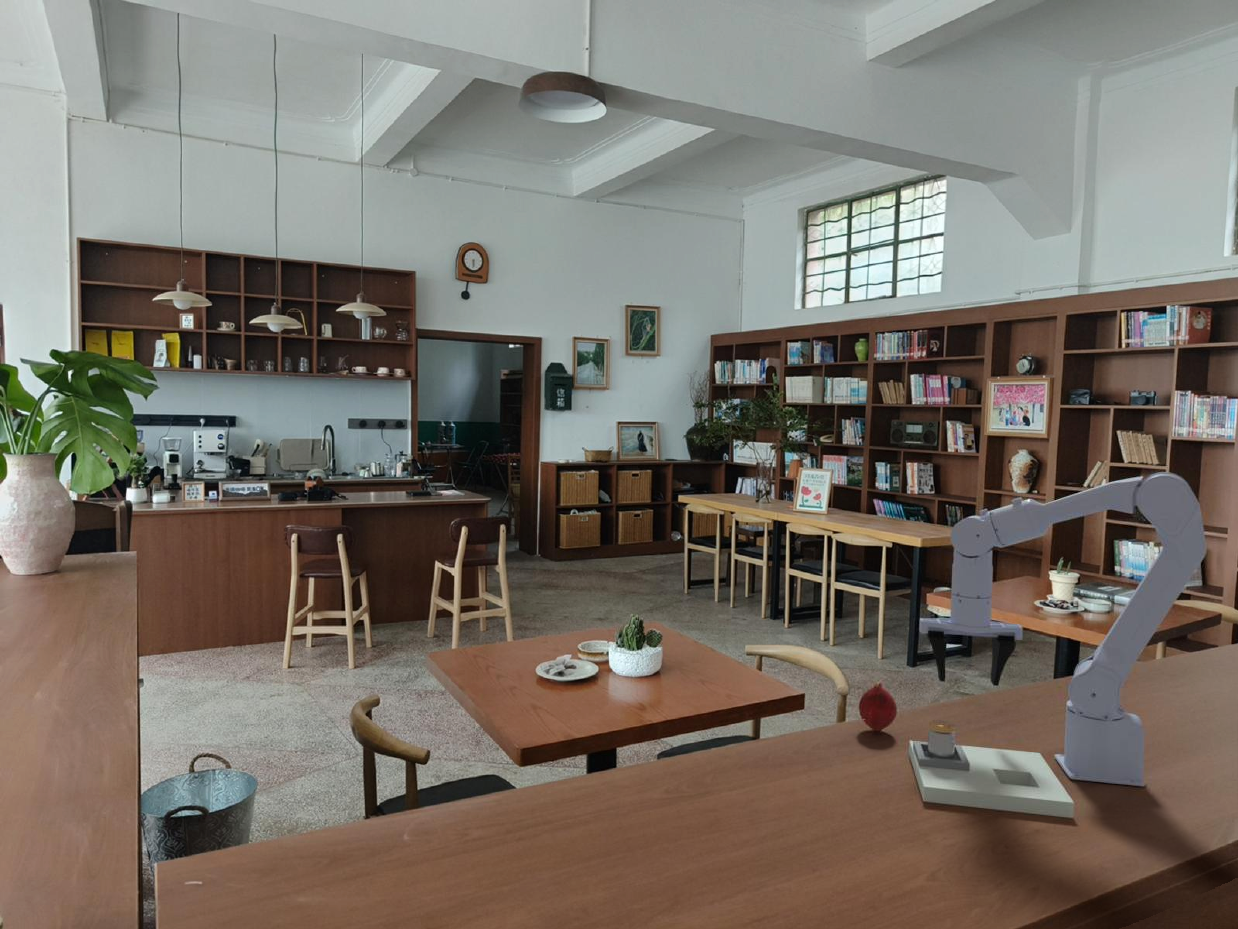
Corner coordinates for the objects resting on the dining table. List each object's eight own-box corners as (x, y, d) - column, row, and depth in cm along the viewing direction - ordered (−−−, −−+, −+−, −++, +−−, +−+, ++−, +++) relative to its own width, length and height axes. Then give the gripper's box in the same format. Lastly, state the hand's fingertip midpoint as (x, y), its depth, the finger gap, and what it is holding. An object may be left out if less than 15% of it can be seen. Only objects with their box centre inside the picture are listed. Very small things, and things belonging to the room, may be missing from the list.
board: (1039, 766, 120) (1039, 746, 120) (1073, 818, 105) (1074, 795, 105) (908, 753, 124) (909, 734, 124) (923, 801, 109) (924, 779, 109)
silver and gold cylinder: (951, 770, 119) (953, 721, 118) (955, 780, 115) (956, 730, 115) (925, 767, 120) (927, 719, 119) (928, 777, 116) (930, 727, 116)
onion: (897, 740, 130) (899, 689, 129) (859, 736, 131) (861, 687, 130) (893, 726, 135) (895, 678, 135) (856, 723, 136) (858, 675, 136)
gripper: (1016, 592, 129) (1012, 677, 130) (918, 586, 132) (915, 670, 133) (1027, 601, 122) (1023, 692, 123) (924, 595, 125) (920, 683, 126)
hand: (967, 681), depth 128 cm, fingers open, 7 cm apart
